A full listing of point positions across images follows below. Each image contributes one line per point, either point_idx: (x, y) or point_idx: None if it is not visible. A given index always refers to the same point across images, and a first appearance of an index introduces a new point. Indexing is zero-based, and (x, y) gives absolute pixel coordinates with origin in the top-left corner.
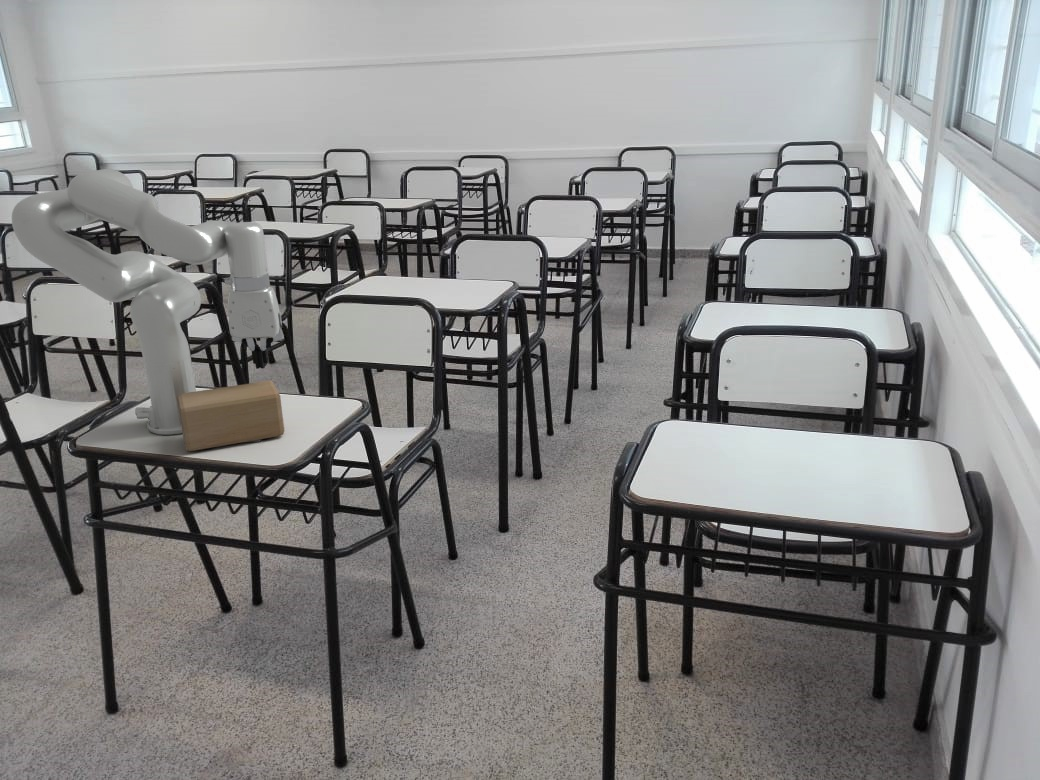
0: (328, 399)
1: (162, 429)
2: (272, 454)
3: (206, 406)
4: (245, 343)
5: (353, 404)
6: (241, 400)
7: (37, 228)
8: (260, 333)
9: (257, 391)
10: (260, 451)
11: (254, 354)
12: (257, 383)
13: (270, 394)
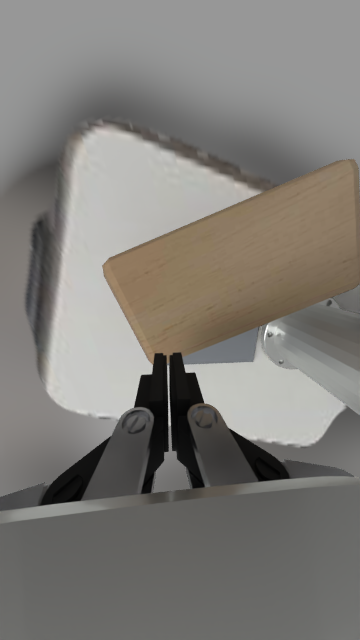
0: (107, 411)
1: None
2: (126, 188)
3: (286, 184)
4: (251, 451)
5: (61, 394)
6: (196, 223)
7: None
8: (46, 605)
9: (164, 278)
10: (152, 207)
11: (186, 386)
12: (182, 342)
13: (121, 257)
